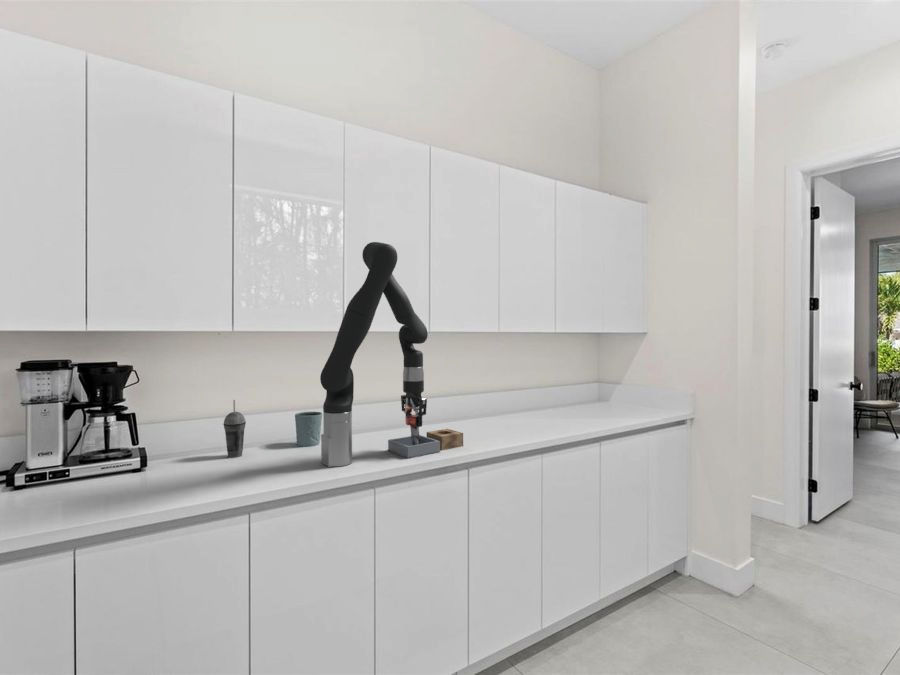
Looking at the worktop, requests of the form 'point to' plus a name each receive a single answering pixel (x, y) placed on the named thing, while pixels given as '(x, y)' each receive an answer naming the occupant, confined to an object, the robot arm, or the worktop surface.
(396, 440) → the tray
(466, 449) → the worktop surface
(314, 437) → the teal tapered cylinder
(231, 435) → the beverage cup
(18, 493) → the worktop surface
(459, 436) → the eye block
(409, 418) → the pin
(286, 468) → the worktop surface
